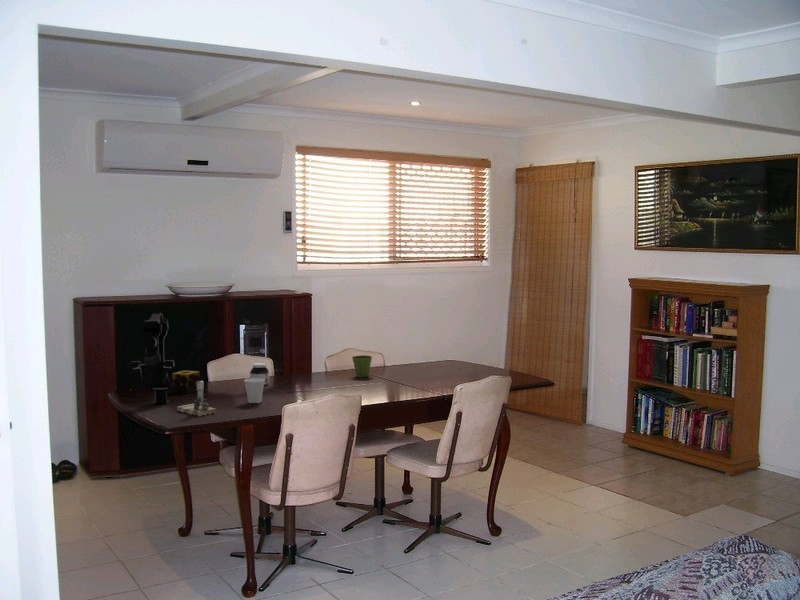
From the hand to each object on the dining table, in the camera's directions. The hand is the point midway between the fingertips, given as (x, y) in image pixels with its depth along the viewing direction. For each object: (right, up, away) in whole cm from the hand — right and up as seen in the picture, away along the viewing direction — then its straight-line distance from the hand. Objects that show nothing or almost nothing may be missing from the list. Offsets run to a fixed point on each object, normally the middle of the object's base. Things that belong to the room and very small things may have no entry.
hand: (152, 383), depth 359 cm
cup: (+41, -12, +28) cm, 51 cm away
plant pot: (+89, -6, +98) cm, 132 cm away
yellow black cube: (0, -10, +57) cm, 58 cm away
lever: (+20, -11, +6) cm, 23 cm away
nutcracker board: (+18, -14, +8) cm, 24 cm away
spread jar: (+34, -9, +74) cm, 82 cm away
